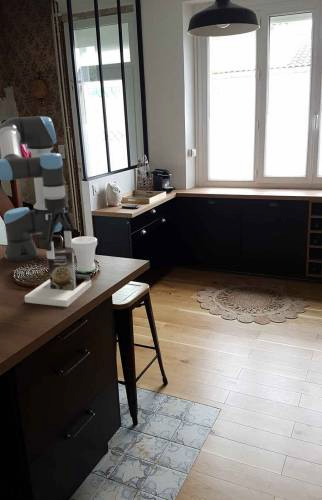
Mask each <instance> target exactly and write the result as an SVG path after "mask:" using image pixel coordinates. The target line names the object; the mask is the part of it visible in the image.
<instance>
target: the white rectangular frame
mask: <svg viewBox="0 0 322 500" xmlns="http://www.w3.org/2000/svg"><path fill="white" fill-rule="evenodd" d="M50 286H51V283H50V278H49V279H47V280H45V281H44V282H43V283H41V284H40V285H39V286H37V287H35V288H34V289H33V290H31V291H30V292H29V293H27V294H26V295H25V294H24V303H30V304H37V305H38V304H39V305H48V306H55V307H57V306H58V307H65V308H68V307H69V306H70V305H71V304H72V303H73V302H75V301H76V300H77V299H78V298H80V297H81V296H82V295H83V294H84V293H85V292H86V291H87V290H89V289H90V288H91V287H92V280H91V279H90V281H86V280H84V281H83V282H81V284H79V285H78V286H76V289H74V290H73V291H69V290H59V289H51V287H50Z"/></svg>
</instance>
